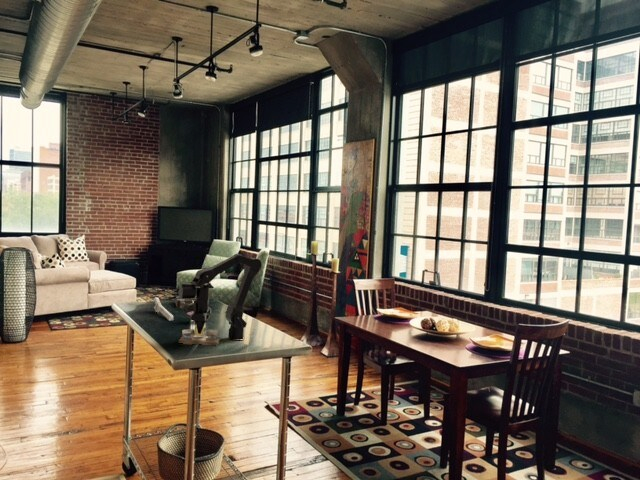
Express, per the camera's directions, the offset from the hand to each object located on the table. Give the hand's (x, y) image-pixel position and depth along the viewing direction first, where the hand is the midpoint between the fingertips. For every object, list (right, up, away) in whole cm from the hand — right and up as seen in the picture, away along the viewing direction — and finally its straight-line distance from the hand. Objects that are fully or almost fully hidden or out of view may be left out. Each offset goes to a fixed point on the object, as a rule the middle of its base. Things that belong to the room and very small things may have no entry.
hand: (200, 332), depth 244 cm
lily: (-12, -2, +38) cm, 40 cm away
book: (-26, +1, +84) cm, 87 cm away
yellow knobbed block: (0, -1, 0) cm, 1 cm away
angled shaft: (-5, -3, -1) cm, 6 cm away
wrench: (-32, 0, +52) cm, 61 cm away
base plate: (0, -4, 0) cm, 4 cm away
